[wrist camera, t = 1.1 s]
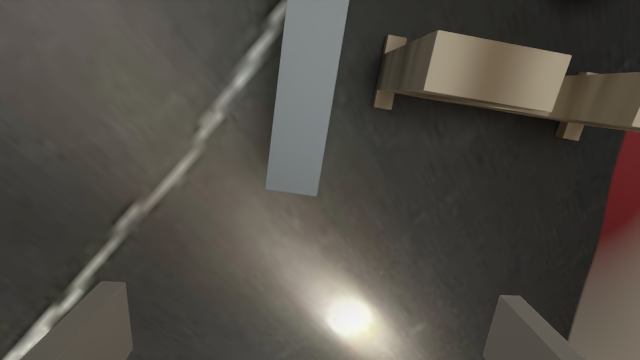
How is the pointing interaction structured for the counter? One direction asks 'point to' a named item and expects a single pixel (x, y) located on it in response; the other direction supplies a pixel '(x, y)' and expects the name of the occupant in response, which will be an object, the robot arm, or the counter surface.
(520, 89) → the slotted stand
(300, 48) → the slotted plate
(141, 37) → the counter surface
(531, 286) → the counter surface
